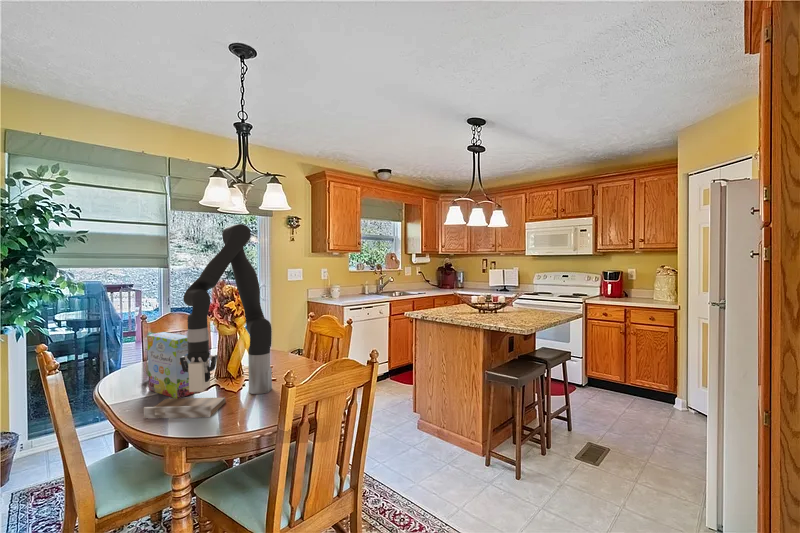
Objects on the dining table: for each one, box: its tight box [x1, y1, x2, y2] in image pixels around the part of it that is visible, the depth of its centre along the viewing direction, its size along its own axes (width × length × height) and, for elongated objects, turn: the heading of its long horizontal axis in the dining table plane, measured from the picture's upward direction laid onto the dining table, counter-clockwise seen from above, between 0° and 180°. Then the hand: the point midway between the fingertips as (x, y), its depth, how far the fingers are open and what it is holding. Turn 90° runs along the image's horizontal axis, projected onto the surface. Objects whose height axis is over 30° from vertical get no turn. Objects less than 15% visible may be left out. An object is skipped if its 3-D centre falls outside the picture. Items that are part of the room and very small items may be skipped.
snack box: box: [146, 331, 195, 398], centre depth 172 cm, size 22×9×26 cm, turn 62°
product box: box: [188, 358, 211, 393], centre depth 154 cm, size 5×7×11 cm
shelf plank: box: [143, 397, 226, 419], centre depth 152 cm, size 24×15×4 cm, turn 93°
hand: (199, 381), depth 154 cm, fingers closed on product box, 5 cm apart
